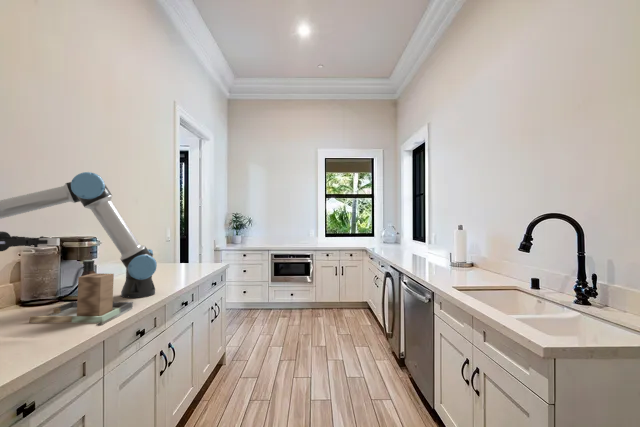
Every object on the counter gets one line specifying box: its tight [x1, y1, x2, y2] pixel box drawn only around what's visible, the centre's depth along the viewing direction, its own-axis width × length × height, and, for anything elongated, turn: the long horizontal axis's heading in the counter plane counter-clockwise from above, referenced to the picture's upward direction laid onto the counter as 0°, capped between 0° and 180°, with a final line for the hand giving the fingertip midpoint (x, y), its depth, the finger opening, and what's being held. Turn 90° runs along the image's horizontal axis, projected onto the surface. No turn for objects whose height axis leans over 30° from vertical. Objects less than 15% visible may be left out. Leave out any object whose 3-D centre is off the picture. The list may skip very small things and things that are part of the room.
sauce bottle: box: [80, 259, 97, 277], centre depth 141 cm, size 7×6×20 cm
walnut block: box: [76, 272, 115, 316], centre depth 120 cm, size 8×8×16 cm
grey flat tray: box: [29, 301, 133, 326], centre depth 124 cm, size 25×21×3 cm
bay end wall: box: [102, 309, 119, 321], centre depth 120 cm, size 1×10×3 cm, turn 3°
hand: (58, 241), depth 120 cm, fingers closed
